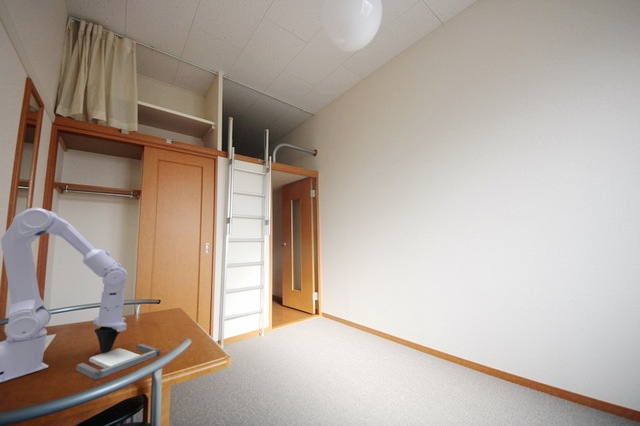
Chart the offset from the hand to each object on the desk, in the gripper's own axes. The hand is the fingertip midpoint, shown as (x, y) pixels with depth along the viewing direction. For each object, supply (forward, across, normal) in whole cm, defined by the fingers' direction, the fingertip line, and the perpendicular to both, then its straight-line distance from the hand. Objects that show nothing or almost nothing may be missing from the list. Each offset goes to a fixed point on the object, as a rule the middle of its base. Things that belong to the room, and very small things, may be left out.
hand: (105, 351), depth 76 cm
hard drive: (+2, -6, 0) cm, 6 cm away
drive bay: (+1, -8, 0) cm, 9 cm away
